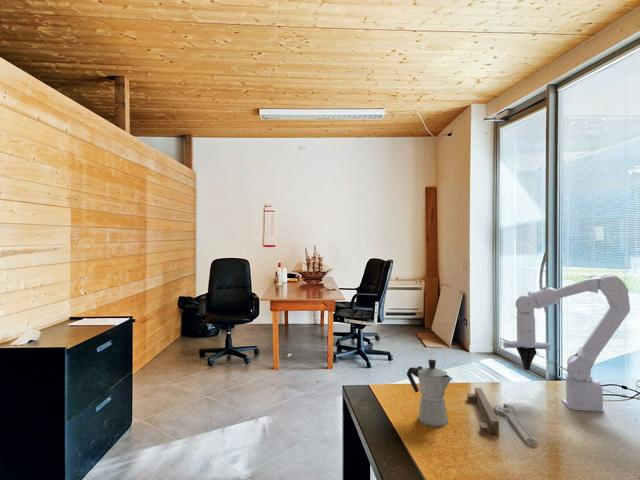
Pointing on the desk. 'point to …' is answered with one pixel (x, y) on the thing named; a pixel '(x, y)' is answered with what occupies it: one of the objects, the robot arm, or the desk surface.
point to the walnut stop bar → (485, 413)
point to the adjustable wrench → (515, 423)
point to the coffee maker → (431, 393)
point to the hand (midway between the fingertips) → (526, 369)
